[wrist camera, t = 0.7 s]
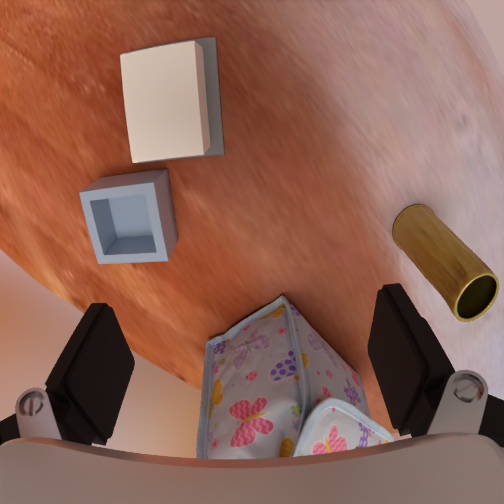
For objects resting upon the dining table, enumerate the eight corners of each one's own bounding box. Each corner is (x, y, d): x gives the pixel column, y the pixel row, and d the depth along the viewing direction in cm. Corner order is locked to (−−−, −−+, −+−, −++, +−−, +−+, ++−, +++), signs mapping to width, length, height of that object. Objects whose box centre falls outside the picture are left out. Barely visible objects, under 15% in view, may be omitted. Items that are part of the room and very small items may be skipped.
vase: (405, 196, 32) (475, 260, 20) (442, 212, 33) (512, 276, 21) (384, 243, 35) (437, 322, 23) (422, 255, 36) (478, 329, 23)
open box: (100, 177, 31) (79, 192, 27) (167, 168, 31) (153, 182, 27) (114, 242, 35) (98, 264, 31) (178, 238, 35) (168, 260, 31)
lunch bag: (376, 367, 46) (420, 516, 23) (290, 408, 51) (300, 548, 28) (304, 277, 38) (349, 503, 14) (200, 339, 43) (171, 528, 19)
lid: (137, 58, 25) (120, 55, 21) (202, 47, 25) (194, 40, 21) (147, 152, 30) (132, 163, 26) (210, 145, 30) (203, 154, 26)
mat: (127, 52, 25) (125, 52, 25) (215, 37, 25) (215, 36, 24) (139, 162, 31) (138, 163, 30) (224, 153, 31) (224, 154, 30)
